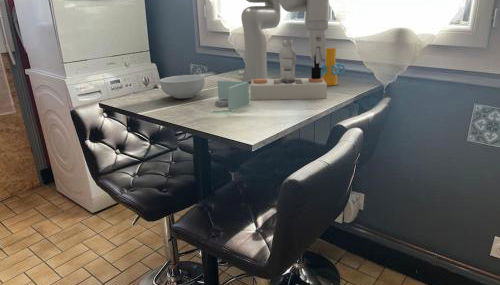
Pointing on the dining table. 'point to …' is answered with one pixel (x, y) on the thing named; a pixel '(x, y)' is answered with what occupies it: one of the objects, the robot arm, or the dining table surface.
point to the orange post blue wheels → (331, 67)
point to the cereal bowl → (182, 85)
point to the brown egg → (315, 80)
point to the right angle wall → (232, 94)
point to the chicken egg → (259, 81)
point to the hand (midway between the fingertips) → (315, 78)
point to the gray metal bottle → (287, 63)
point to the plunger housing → (288, 90)
